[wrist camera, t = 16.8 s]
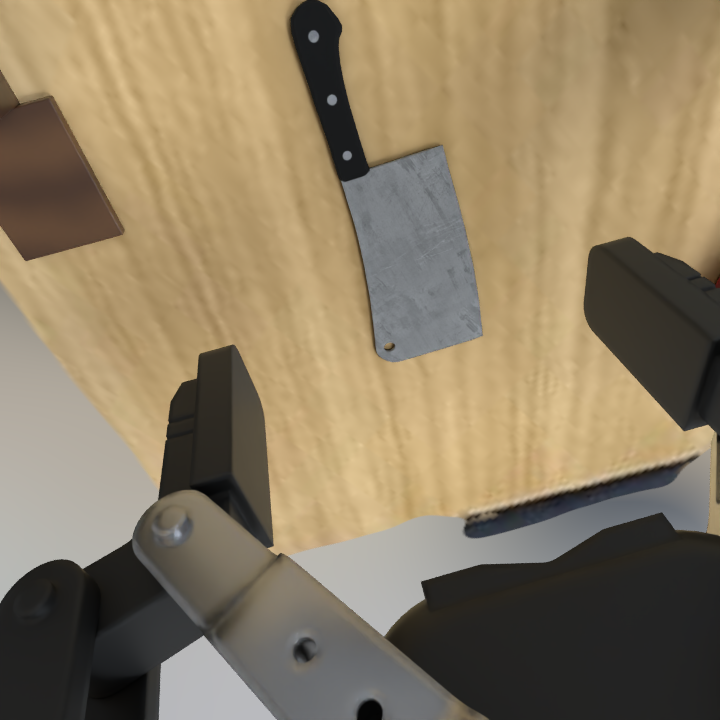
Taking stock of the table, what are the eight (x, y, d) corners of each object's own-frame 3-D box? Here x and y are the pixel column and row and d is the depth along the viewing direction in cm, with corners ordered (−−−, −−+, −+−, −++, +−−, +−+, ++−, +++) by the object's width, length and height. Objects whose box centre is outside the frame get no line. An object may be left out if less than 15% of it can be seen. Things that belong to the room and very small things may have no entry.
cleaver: (436, -44, 31) (273, 10, 31) (439, -44, 30) (274, 11, 30) (481, 333, 50) (380, 366, 50) (484, 337, 49) (382, 370, 49)
